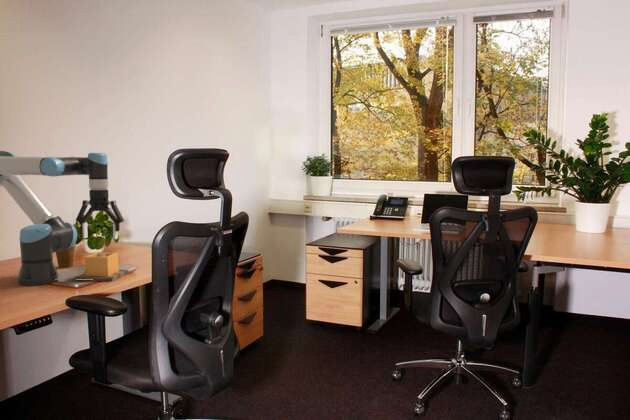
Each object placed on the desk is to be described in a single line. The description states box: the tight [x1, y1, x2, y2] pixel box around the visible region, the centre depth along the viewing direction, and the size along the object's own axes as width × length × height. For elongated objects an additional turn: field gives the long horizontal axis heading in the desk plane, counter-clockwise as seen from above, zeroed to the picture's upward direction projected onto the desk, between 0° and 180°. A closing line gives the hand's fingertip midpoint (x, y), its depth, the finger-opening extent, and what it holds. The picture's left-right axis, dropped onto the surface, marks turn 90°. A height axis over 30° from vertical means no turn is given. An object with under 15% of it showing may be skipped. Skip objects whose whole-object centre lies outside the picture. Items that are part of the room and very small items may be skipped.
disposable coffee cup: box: [55, 242, 77, 269], centre depth 254 cm, size 10×10×12 cm
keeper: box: [74, 254, 129, 282], centre depth 234 cm, size 16×16×10 cm
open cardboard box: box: [84, 252, 120, 276], centre depth 233 cm, size 10×10×8 cm
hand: (100, 238), depth 232 cm, fingers open, 13 cm apart
